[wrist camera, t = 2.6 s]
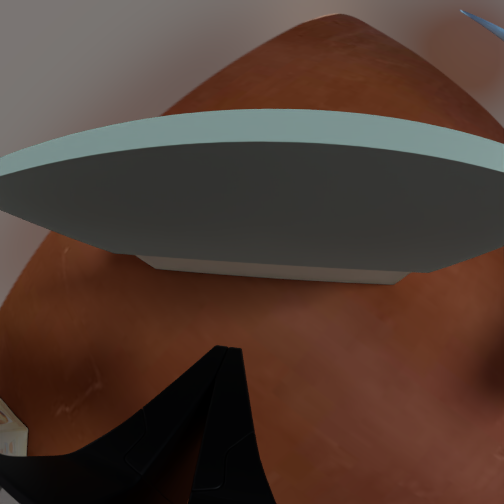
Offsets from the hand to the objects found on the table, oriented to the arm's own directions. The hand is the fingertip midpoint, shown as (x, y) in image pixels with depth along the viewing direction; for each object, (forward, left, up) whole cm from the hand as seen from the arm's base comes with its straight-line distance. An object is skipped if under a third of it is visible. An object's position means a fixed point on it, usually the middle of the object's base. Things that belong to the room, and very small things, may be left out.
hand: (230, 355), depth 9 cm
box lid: (+3, +3, +1) cm, 4 cm away
